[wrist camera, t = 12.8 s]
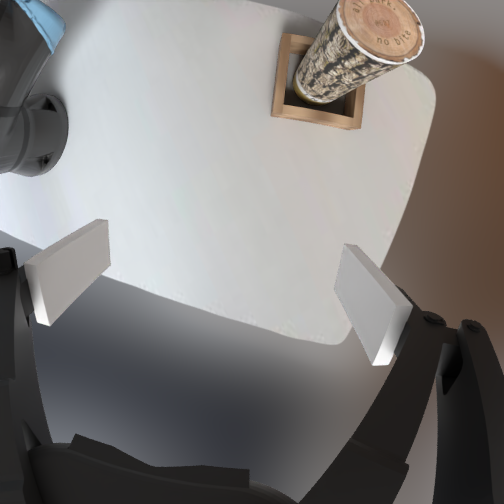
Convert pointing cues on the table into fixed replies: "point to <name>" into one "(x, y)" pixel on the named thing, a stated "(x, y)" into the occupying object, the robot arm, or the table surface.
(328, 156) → the table surface
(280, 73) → the holder
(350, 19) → the paper tube
